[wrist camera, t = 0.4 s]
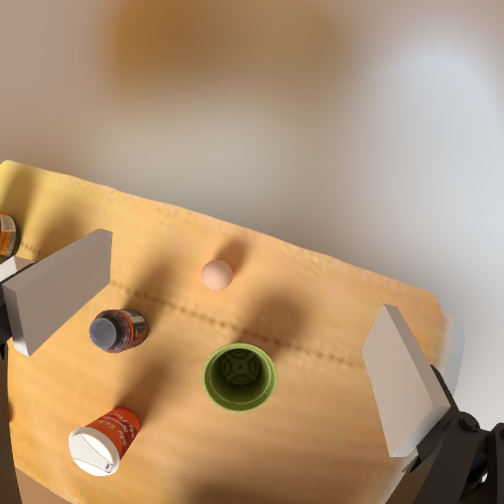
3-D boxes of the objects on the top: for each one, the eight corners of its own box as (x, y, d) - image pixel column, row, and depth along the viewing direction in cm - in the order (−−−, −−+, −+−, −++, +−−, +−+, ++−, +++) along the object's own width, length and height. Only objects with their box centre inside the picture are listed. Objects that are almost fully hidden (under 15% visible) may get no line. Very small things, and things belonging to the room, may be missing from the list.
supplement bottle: (139, 353, 44) (111, 366, 33) (109, 333, 45) (75, 340, 34) (155, 321, 45) (130, 326, 34) (125, 302, 46) (93, 301, 35)
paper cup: (152, 416, 43) (123, 451, 29) (137, 448, 42) (108, 488, 28) (111, 392, 43) (71, 418, 29) (99, 425, 42) (60, 456, 28)
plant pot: (205, 338, 45) (197, 346, 37) (267, 332, 46) (273, 339, 37) (213, 396, 44) (207, 415, 35) (273, 390, 44) (280, 408, 36)
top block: (48, 308, 39) (26, 308, 33) (18, 324, 38) (-5, 325, 33) (35, 261, 40) (13, 255, 34) (6, 279, 40) (-16, 276, 34)
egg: (239, 273, 47) (238, 270, 41) (221, 297, 46) (218, 296, 41) (215, 256, 47) (212, 250, 42) (198, 279, 47) (192, 276, 41)
